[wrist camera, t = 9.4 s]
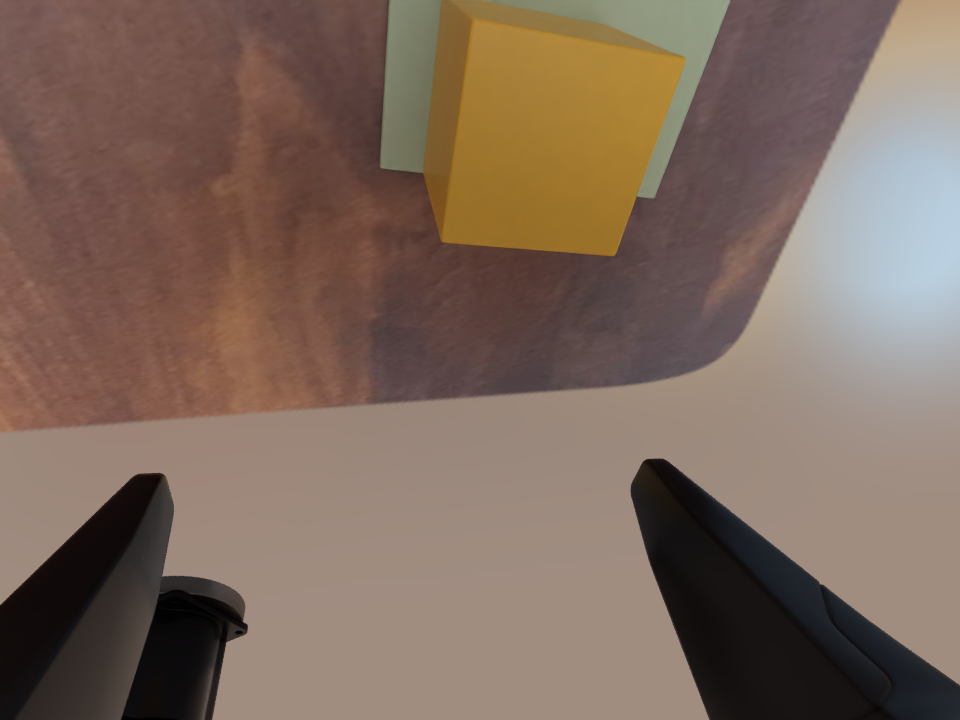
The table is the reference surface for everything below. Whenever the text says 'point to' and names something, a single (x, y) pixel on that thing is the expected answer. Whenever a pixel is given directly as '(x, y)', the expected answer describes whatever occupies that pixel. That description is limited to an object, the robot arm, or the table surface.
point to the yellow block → (541, 127)
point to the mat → (617, 3)
